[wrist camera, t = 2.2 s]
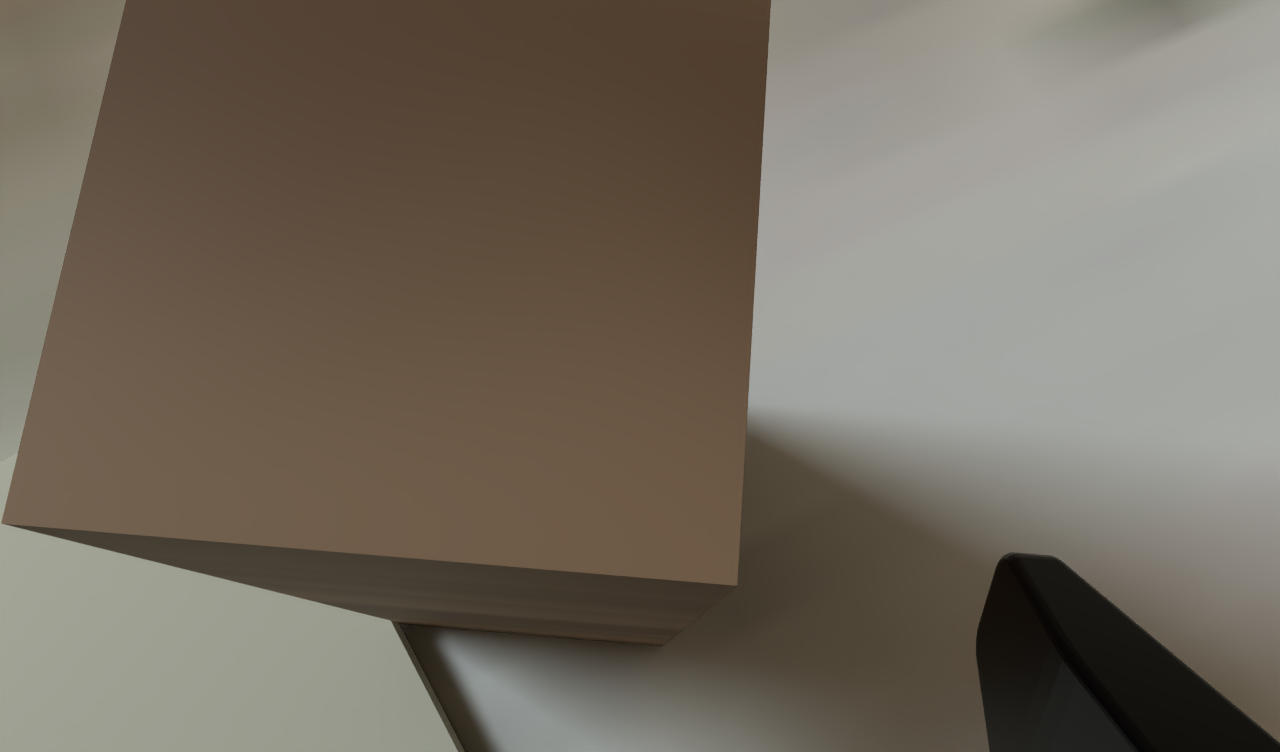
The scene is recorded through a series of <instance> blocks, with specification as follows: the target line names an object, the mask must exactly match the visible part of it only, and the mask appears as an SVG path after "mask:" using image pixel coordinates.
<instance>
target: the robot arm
mask: <svg viewBox="0 0 1280 752" xmlns="http://www.w3.org/2000/svg"><path fill="white" fill-rule="evenodd" d="M976 657H977V665H978V672H979V679H980V686H981V693H982V700H983V708H984V715H985V722H986V729H987V736H988V743H989V750H990V752H1280V743H1279V742H1278V741H1277V740H1276V739H1275V738H1273V737H1272V736H1271V735H1270V734H1269V733H1267V732H1266V731H1265V730H1264V729H1263V728H1261V727H1260V726H1259V725H1258V724H1257V723H1255V722H1254V721H1253V720H1252V719H1251V718H1249V717H1248V716H1247V715H1246V714H1245V713H1243V712H1242V711H1241V710H1240V709H1239V708H1237V707H1236V706H1235V705H1234V704H1233V703H1231V702H1230V701H1229V700H1228V699H1227V698H1225V697H1224V696H1223V695H1222V694H1221V693H1219V692H1218V691H1217V690H1216V689H1215V688H1213V687H1212V686H1211V685H1210V684H1209V683H1207V682H1206V681H1205V680H1204V679H1203V678H1201V677H1200V676H1199V675H1198V674H1197V673H1195V672H1194V671H1193V670H1192V669H1191V668H1189V667H1188V666H1187V665H1186V664H1185V663H1183V662H1182V661H1181V660H1180V659H1179V658H1177V657H1176V656H1175V655H1174V654H1173V653H1171V652H1170V651H1169V650H1168V649H1167V648H1165V647H1164V646H1163V645H1162V644H1161V643H1159V642H1158V641H1157V640H1156V639H1155V638H1153V637H1152V636H1151V635H1150V634H1149V633H1147V632H1146V631H1145V630H1144V629H1143V628H1141V627H1140V626H1139V625H1138V624H1137V623H1135V622H1134V621H1133V620H1132V619H1131V618H1129V617H1128V616H1127V615H1126V614H1125V613H1123V612H1122V611H1121V610H1120V609H1119V608H1117V607H1116V606H1115V605H1114V604H1113V603H1111V602H1110V601H1109V600H1108V599H1107V598H1105V597H1104V596H1103V595H1102V594H1101V593H1099V592H1098V591H1097V590H1096V589H1095V588H1093V587H1092V586H1091V585H1090V584H1089V583H1087V582H1086V581H1085V580H1084V579H1083V578H1081V577H1080V576H1079V575H1078V574H1077V573H1075V572H1074V571H1073V570H1072V569H1071V568H1069V567H1068V566H1067V565H1066V564H1065V563H1063V562H1062V561H1061V560H1059V559H1058V558H1056V557H1053V556H1048V555H1037V554H1025V553H1013V552H1012V553H1008V554H1006V555H1004V556H1003V557H1002V558H1001V559H1000V561H999V562H998V564H997V567H996V569H995V573H994V576H993V579H992V583H991V586H990V589H989V593H988V596H987V599H986V603H985V606H984V609H983V613H982V616H981V619H980V623H979V626H978V630H977V637H976Z"/></svg>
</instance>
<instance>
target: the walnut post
mask: <svg viewBox="0 0 1280 752" xmlns="http://www.w3.org/2000/svg"><path fill="white" fill-rule="evenodd" d="M770 6H771V0H126V3H125V7H124V12H123V16H122V20H121V24H120V28H119V32H118V37H117V41H116V45H115V49H114V53H113V58H112V62H111V66H110V70H109V74H108V78H107V83H106V87H105V91H104V95H103V99H102V104H101V108H100V112H99V116H98V120H97V124H96V129H95V133H94V137H93V141H92V145H91V150H90V154H89V158H88V162H87V166H86V171H85V175H84V179H83V183H82V187H81V191H80V196H79V200H78V204H77V208H76V212H75V217H74V221H73V225H72V229H71V233H70V237H69V242H68V246H67V250H66V254H65V258H64V263H63V267H62V271H61V275H60V279H59V283H58V288H57V292H56V296H55V300H54V304H53V309H52V313H51V317H50V321H49V325H48V330H47V334H46V338H45V342H44V346H43V350H42V355H41V359H40V363H39V367H38V371H37V376H36V380H35V384H34V388H33V392H32V396H31V401H30V405H29V409H28V413H27V417H26V422H25V426H24V430H23V434H22V438H21V442H20V447H19V451H18V455H17V459H16V463H15V468H14V472H13V476H12V480H11V484H10V488H9V493H8V497H7V501H6V505H5V509H4V514H3V518H2V522H1V524H5V525H9V526H13V527H17V528H21V529H25V530H29V531H33V532H37V533H41V534H45V535H49V536H53V537H57V538H61V539H65V540H69V541H73V542H77V543H81V544H85V545H89V546H93V547H97V548H101V549H105V550H109V551H113V552H117V553H121V554H125V555H129V556H133V557H137V558H141V559H145V560H149V561H153V562H157V563H161V564H165V565H169V566H173V567H177V568H181V569H185V570H190V571H194V572H198V573H202V574H206V575H210V576H214V577H218V578H222V579H226V580H230V581H234V582H238V583H242V584H246V585H250V586H254V587H258V588H262V589H266V590H270V591H274V592H278V593H282V594H286V595H290V596H294V597H298V598H302V599H306V600H310V601H314V602H318V603H322V604H326V605H330V606H334V607H338V608H342V609H346V610H350V611H354V612H358V613H362V614H366V615H370V616H374V617H378V618H382V619H386V620H390V621H394V622H398V623H402V624H409V625H421V626H433V627H445V628H456V629H468V630H480V631H492V632H504V633H515V634H527V635H539V636H551V637H563V638H574V639H586V640H598V641H610V642H621V643H633V644H645V645H657V646H662V645H664V644H665V643H666V642H667V641H669V640H670V639H671V638H672V637H674V636H675V635H676V634H677V633H679V632H680V631H681V630H682V629H684V628H685V627H686V626H687V625H689V624H690V623H691V622H693V621H694V620H695V619H696V618H698V617H699V616H700V615H701V614H703V613H704V612H705V611H706V610H708V609H709V608H710V607H711V606H713V605H714V604H715V603H716V602H718V601H719V600H720V599H721V598H723V597H724V596H725V595H726V594H728V593H729V592H730V591H731V590H733V589H734V588H735V587H736V586H737V584H738V566H739V549H740V531H741V514H742V496H743V479H744V461H745V444H746V426H747V409H748V391H749V374H750V356H751V339H752V321H753V304H754V286H755V269H756V251H757V234H758V216H759V199H760V181H761V164H762V146H763V129H764V111H765V94H766V76H767V59H768V41H769V24H770Z"/></svg>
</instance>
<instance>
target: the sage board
mask: <svg viewBox="0 0 1280 752" xmlns="http://www.w3.org/2000/svg"><path fill="white" fill-rule="evenodd" d="M17 455H18V453H17V454H15V455H13V456H11V457H9V458H7V459H5V460H3V461H1V462H0V752H465V751H464V749H463V747H462V745H461V743H460V741H459V739H458V738H457V736H456V734H455V732H454V730H453V728H452V726H451V724H450V722H449V720H448V718H447V716H446V714H445V712H444V710H443V708H442V706H441V704H440V703H439V701H438V699H437V697H436V695H435V693H434V691H433V689H432V687H431V685H430V683H429V681H428V679H427V677H426V675H425V673H424V671H423V670H422V668H421V666H420V664H419V662H418V660H417V658H416V656H415V654H414V652H413V650H412V648H411V646H410V644H409V642H408V640H407V638H406V636H405V635H404V633H403V631H402V629H401V627H400V625H399V623H398V622H394V621H390V620H386V619H382V618H378V617H374V616H370V615H366V614H362V613H358V612H354V611H350V610H346V609H342V608H338V607H334V606H330V605H326V604H322V603H318V602H314V601H310V600H306V599H302V598H298V597H294V596H290V595H286V594H282V593H278V592H274V591H270V590H266V589H262V588H258V587H254V586H250V585H246V584H242V583H238V582H234V581H230V580H226V579H222V578H218V577H214V576H210V575H206V574H202V573H198V572H194V571H190V570H185V569H181V568H177V567H173V566H169V565H165V564H161V563H157V562H153V561H149V560H145V559H141V558H137V557H133V556H129V555H125V554H121V553H117V552H113V551H109V550H105V549H101V548H97V547H93V546H89V545H85V544H81V543H77V542H73V541H69V540H65V539H61V538H57V537H53V536H49V535H45V534H41V533H37V532H33V531H29V530H25V529H21V528H17V527H13V526H9V525H5V524H1V522H2V518H3V514H4V509H5V505H6V501H7V497H8V493H9V488H10V484H11V480H12V476H13V472H14V468H15V463H16V459H17Z"/></svg>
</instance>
